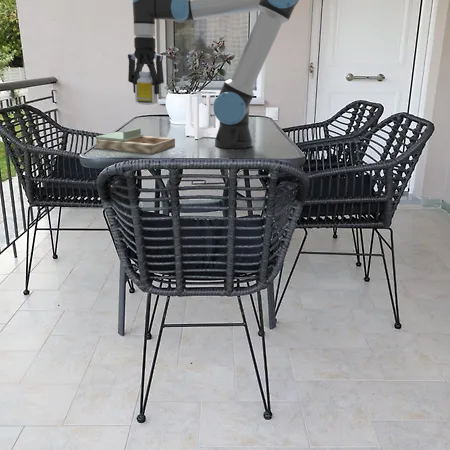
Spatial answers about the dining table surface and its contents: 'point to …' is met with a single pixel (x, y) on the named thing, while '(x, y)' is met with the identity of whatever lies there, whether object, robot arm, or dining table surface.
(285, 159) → the dining table surface
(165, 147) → the board
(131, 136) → the cover
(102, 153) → the dining table surface
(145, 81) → the pill bottle
